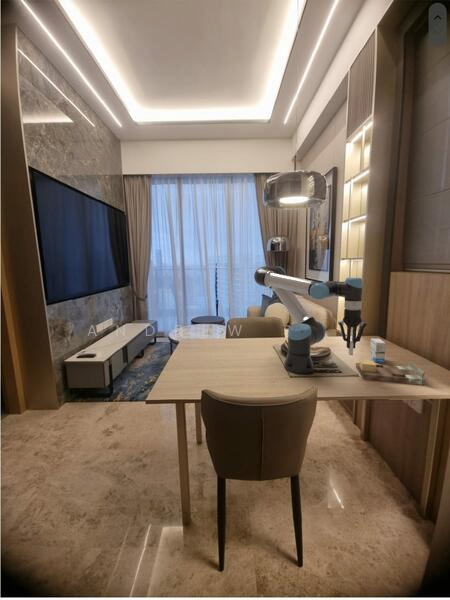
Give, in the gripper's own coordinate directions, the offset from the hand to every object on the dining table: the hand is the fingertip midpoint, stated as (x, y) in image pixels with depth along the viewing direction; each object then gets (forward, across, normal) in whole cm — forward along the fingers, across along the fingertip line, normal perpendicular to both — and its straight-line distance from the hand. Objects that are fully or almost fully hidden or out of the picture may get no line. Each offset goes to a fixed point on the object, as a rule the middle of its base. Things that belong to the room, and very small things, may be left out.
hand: (350, 354), depth 126 cm
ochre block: (+7, +8, 0) cm, 11 cm away
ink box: (+10, +19, +20) cm, 29 cm away
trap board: (+10, +17, 0) cm, 20 cm away
